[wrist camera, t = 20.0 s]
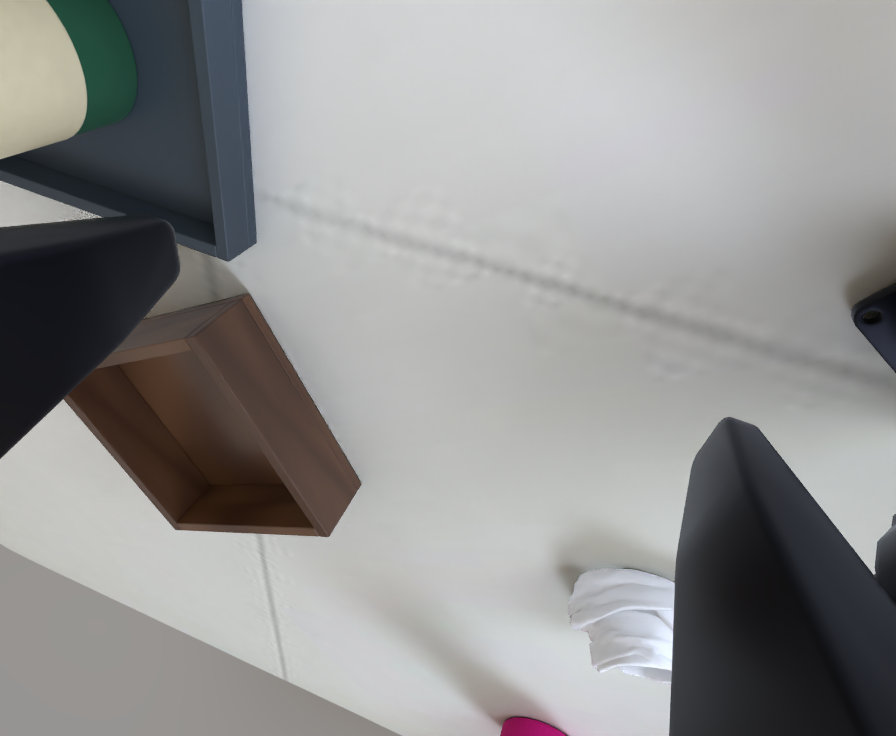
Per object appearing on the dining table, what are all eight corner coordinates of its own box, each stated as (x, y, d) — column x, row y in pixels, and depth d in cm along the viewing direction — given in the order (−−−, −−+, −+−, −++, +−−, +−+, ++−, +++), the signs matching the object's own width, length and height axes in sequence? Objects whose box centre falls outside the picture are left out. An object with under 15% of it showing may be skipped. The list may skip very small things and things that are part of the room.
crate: (249, 293, 28) (193, 336, 24) (362, 483, 34) (329, 537, 31) (96, 330, 34) (36, 368, 31) (214, 485, 40) (175, 530, 37)
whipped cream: (714, 557, 29) (725, 641, 25) (726, 643, 31) (738, 731, 27) (561, 556, 32) (550, 629, 28) (584, 634, 34) (577, 711, 30)
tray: (233, -137, 17) (187, -146, 15) (257, 243, 25) (228, 262, 24) (-141, -223, 19) (-215, -238, 18) (-5, 152, 28) (-47, 164, 26)
